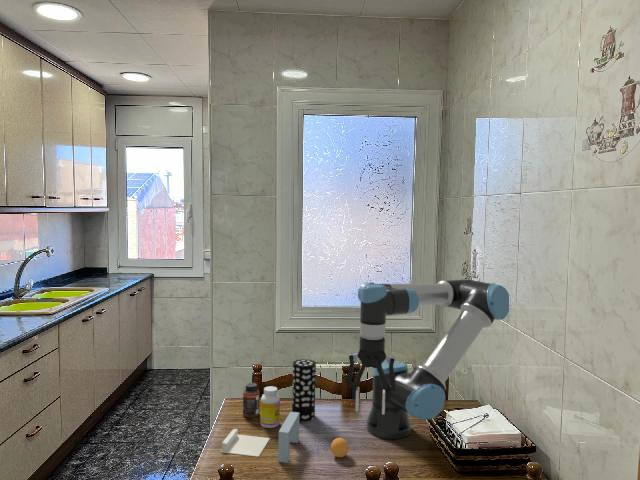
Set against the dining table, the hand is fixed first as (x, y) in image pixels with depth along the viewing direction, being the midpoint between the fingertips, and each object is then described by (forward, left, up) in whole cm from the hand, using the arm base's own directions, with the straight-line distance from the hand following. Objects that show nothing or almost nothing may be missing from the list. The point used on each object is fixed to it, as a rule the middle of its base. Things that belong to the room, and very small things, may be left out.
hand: (370, 411), depth 143 cm
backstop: (+45, 0, -15) cm, 47 cm away
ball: (+9, 0, -12) cm, 15 cm away
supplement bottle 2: (+36, -16, -15) cm, 42 cm away
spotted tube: (+26, -25, -15) cm, 39 cm away
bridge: (+25, 0, -15) cm, 29 cm away
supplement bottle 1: (+45, -22, -15) cm, 52 cm away
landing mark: (+39, 0, -15) cm, 42 cm away
